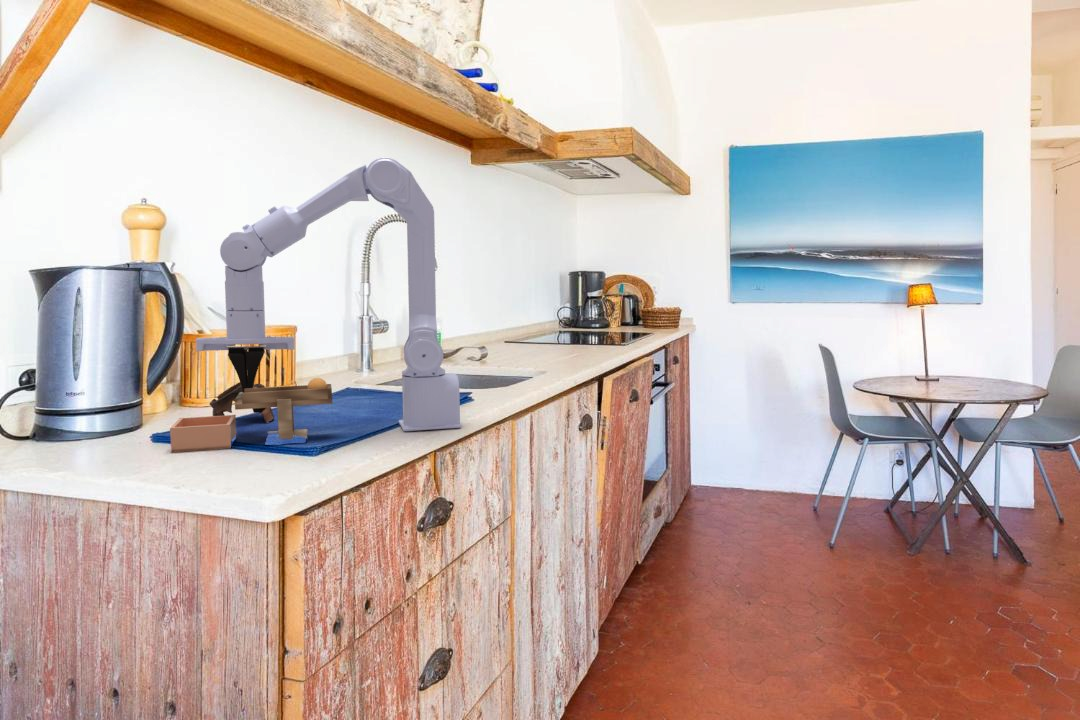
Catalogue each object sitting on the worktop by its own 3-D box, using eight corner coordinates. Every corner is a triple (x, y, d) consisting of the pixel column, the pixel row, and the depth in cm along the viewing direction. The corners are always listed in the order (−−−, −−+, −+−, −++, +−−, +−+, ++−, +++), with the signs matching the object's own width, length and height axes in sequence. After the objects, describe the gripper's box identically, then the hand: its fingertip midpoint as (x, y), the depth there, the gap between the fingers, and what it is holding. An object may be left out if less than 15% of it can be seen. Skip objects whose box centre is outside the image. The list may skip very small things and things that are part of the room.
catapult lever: (331, 392, 123) (330, 379, 123) (332, 403, 112) (331, 388, 112) (239, 398, 119) (238, 383, 118) (231, 409, 108) (230, 394, 108)
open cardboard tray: (236, 437, 115) (235, 414, 114) (231, 448, 107) (229, 424, 107) (181, 440, 113) (179, 418, 112) (171, 452, 105) (169, 428, 105)
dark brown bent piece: (266, 429, 123) (237, 390, 121) (222, 451, 125) (193, 413, 123) (292, 400, 134) (266, 363, 132) (252, 421, 136) (226, 385, 134)
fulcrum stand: (307, 432, 118) (305, 391, 117) (306, 443, 110) (304, 399, 110) (268, 435, 116) (266, 393, 115) (264, 446, 109) (262, 401, 108)
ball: (328, 393, 116) (325, 375, 115) (329, 396, 113) (325, 377, 113) (309, 397, 115) (305, 378, 115) (309, 400, 112) (305, 381, 112)
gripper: (294, 309, 121) (296, 389, 123) (199, 309, 117) (202, 392, 118) (292, 311, 114) (295, 396, 116) (192, 311, 110) (195, 399, 112)
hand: (248, 394), depth 117 cm, fingers closed, pressing on catapult lever
